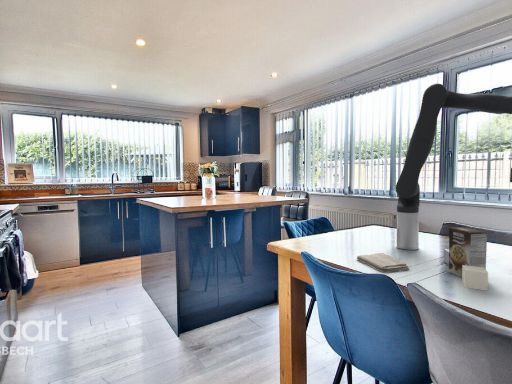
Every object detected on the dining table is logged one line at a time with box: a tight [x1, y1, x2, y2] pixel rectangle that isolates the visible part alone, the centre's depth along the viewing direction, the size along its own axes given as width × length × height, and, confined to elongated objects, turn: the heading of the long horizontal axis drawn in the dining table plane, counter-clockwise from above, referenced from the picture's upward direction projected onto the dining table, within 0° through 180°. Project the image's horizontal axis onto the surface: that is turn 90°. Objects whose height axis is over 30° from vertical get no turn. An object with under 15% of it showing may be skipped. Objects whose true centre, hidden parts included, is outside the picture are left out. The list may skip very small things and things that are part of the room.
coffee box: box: [448, 226, 488, 278], centre depth 97 cm, size 9×6×16 cm
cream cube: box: [461, 265, 489, 291], centre depth 89 cm, size 6×6×6 cm
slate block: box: [443, 248, 449, 265], centre depth 111 cm, size 5×5×5 cm
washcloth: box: [356, 252, 410, 273], centre depth 112 cm, size 12×18×3 cm, turn 13°
